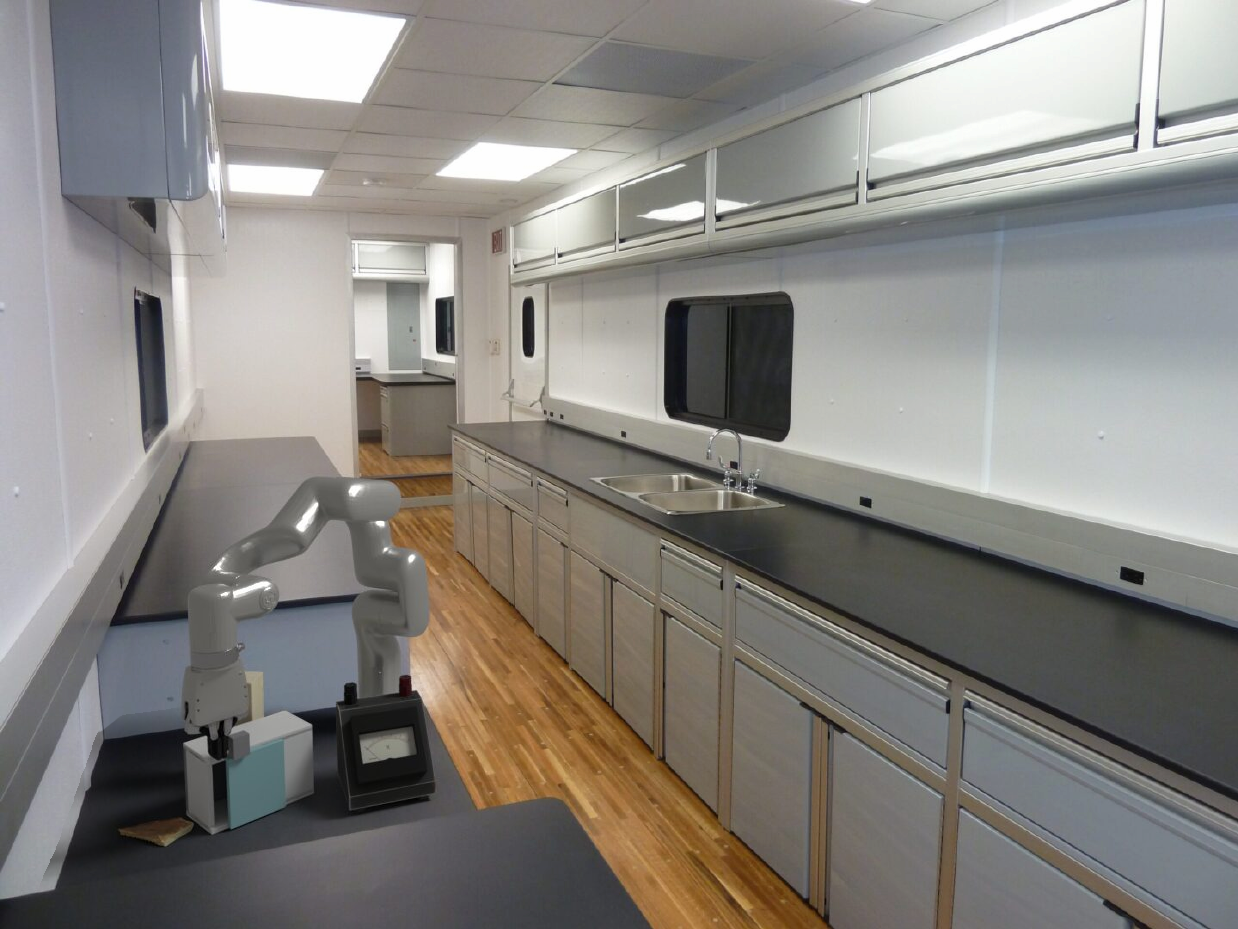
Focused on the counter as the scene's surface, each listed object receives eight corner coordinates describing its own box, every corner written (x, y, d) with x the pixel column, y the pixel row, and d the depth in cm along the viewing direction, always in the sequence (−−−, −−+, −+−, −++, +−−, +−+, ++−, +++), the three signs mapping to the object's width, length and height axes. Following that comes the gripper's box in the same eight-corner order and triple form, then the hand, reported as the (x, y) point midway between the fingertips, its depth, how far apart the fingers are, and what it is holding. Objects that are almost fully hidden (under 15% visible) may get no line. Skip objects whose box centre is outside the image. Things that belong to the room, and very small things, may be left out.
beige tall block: (267, 767, 183) (264, 669, 180) (254, 784, 176) (250, 683, 173) (228, 767, 183) (224, 669, 180) (213, 784, 175) (209, 682, 173)
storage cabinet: (287, 776, 179) (285, 710, 177) (314, 793, 173) (312, 725, 171) (186, 815, 164) (183, 743, 162) (212, 835, 158) (208, 760, 156)
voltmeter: (350, 818, 164) (347, 715, 162) (337, 778, 179) (335, 683, 176) (436, 801, 171) (435, 702, 168) (417, 764, 186) (416, 672, 183)
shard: (118, 836, 157) (117, 827, 157) (154, 816, 164) (154, 806, 164) (163, 851, 153) (162, 841, 153) (199, 829, 160) (198, 819, 160)
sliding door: (283, 805, 167) (280, 718, 165) (288, 808, 166) (285, 721, 164) (228, 827, 159) (224, 736, 157) (233, 831, 158) (230, 739, 156)
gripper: (245, 641, 161) (249, 737, 164) (160, 662, 150) (165, 765, 152) (266, 651, 156) (269, 749, 159) (179, 673, 145) (184, 779, 148)
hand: (218, 756), depth 156 cm, fingers closed
